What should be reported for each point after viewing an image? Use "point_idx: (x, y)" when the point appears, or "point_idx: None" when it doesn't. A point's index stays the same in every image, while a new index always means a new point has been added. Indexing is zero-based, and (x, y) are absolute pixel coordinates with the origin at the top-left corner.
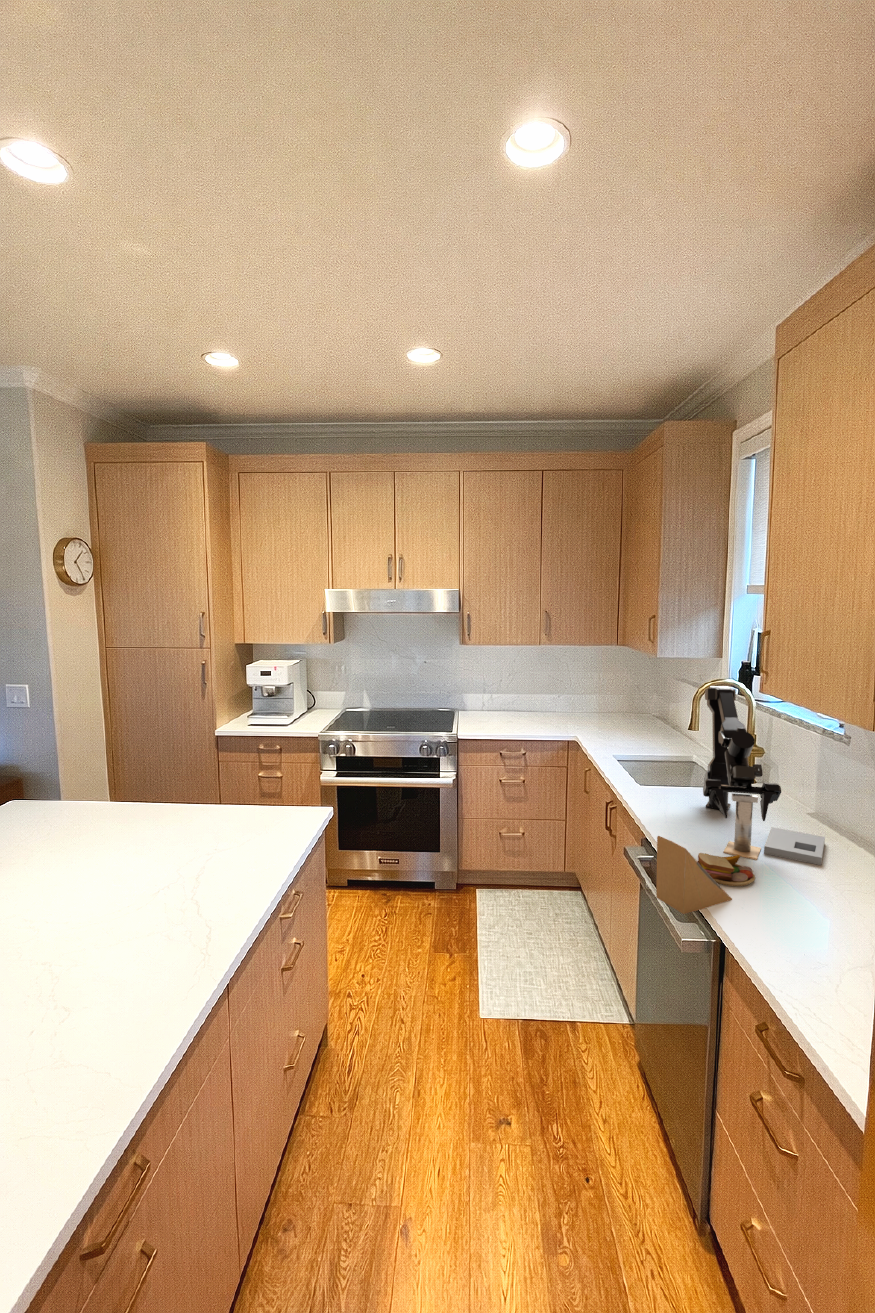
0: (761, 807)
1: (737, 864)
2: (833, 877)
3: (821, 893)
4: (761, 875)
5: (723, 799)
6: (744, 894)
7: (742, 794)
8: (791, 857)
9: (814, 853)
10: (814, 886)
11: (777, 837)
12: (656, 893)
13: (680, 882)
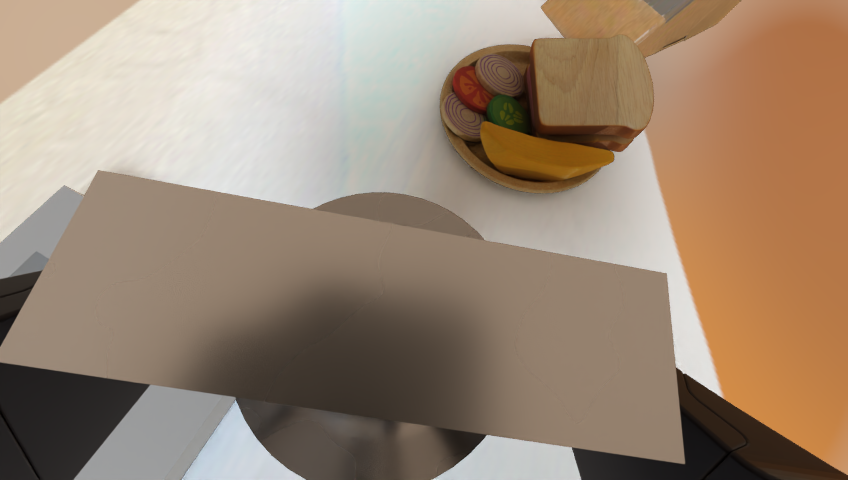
0: (85, 421)
1: (473, 163)
2: (137, 108)
3: (272, 20)
4: (405, 122)
5: (711, 421)
6: (502, 25)
7: (407, 396)
8: None
9: (56, 233)
10: (263, 55)
11: (102, 471)
12: (728, 12)
13: None
